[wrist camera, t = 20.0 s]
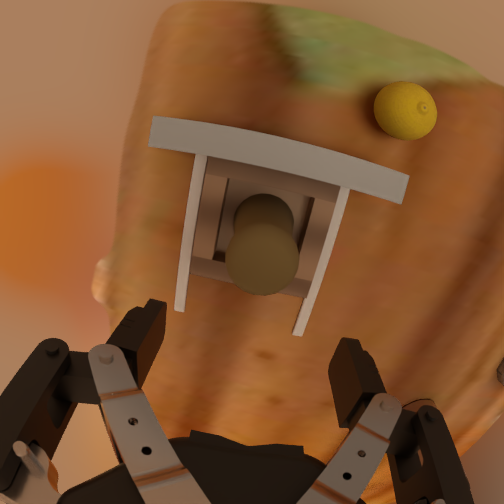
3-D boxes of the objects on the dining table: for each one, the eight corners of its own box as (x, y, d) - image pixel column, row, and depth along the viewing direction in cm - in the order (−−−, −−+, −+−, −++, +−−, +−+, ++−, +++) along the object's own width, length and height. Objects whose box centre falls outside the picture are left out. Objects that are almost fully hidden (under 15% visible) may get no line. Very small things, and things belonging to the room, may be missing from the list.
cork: (220, 220, 30) (196, 264, 20) (267, 180, 28) (267, 204, 18) (260, 262, 31) (257, 323, 21) (306, 226, 30) (326, 274, 20)
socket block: (303, 284, 33) (306, 298, 30) (195, 261, 32) (189, 273, 30) (334, 177, 28) (341, 182, 26) (215, 150, 28) (209, 152, 25)
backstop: (318, 336, 36) (328, 382, 28) (158, 303, 35) (134, 343, 28) (375, 165, 28) (409, 175, 21) (181, 120, 27) (153, 115, 20)
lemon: (419, 111, 25) (461, 108, 18) (394, 149, 27) (431, 155, 20) (380, 77, 25) (414, 61, 17) (353, 116, 26) (382, 109, 19)
